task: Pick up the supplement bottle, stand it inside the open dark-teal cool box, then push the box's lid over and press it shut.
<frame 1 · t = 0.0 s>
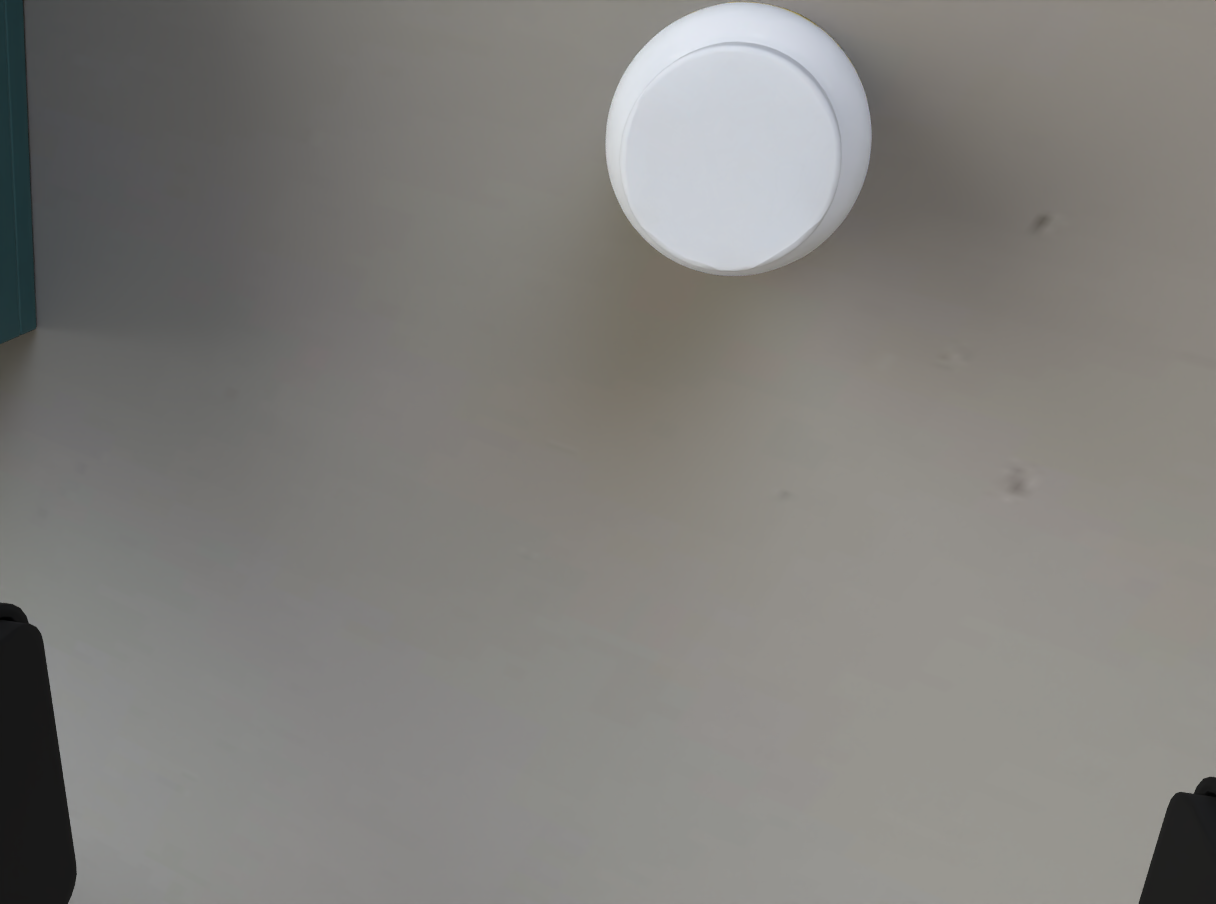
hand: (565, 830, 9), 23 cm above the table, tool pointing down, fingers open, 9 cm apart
supplement bottle: (751, 114, 30), on the table
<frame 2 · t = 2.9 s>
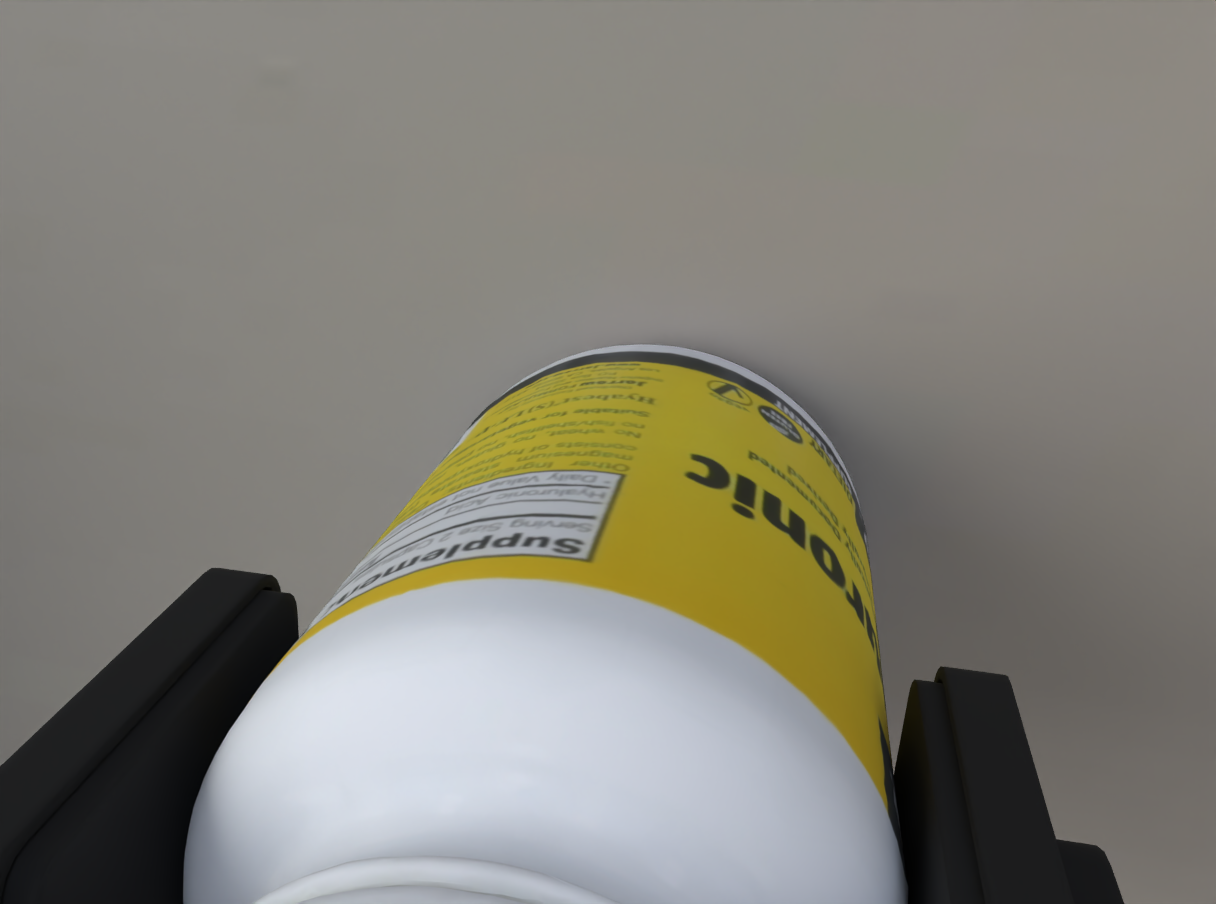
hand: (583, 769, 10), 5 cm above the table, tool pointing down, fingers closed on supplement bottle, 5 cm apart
supplement bottle: (655, 526, 15), on the table, touching gripper
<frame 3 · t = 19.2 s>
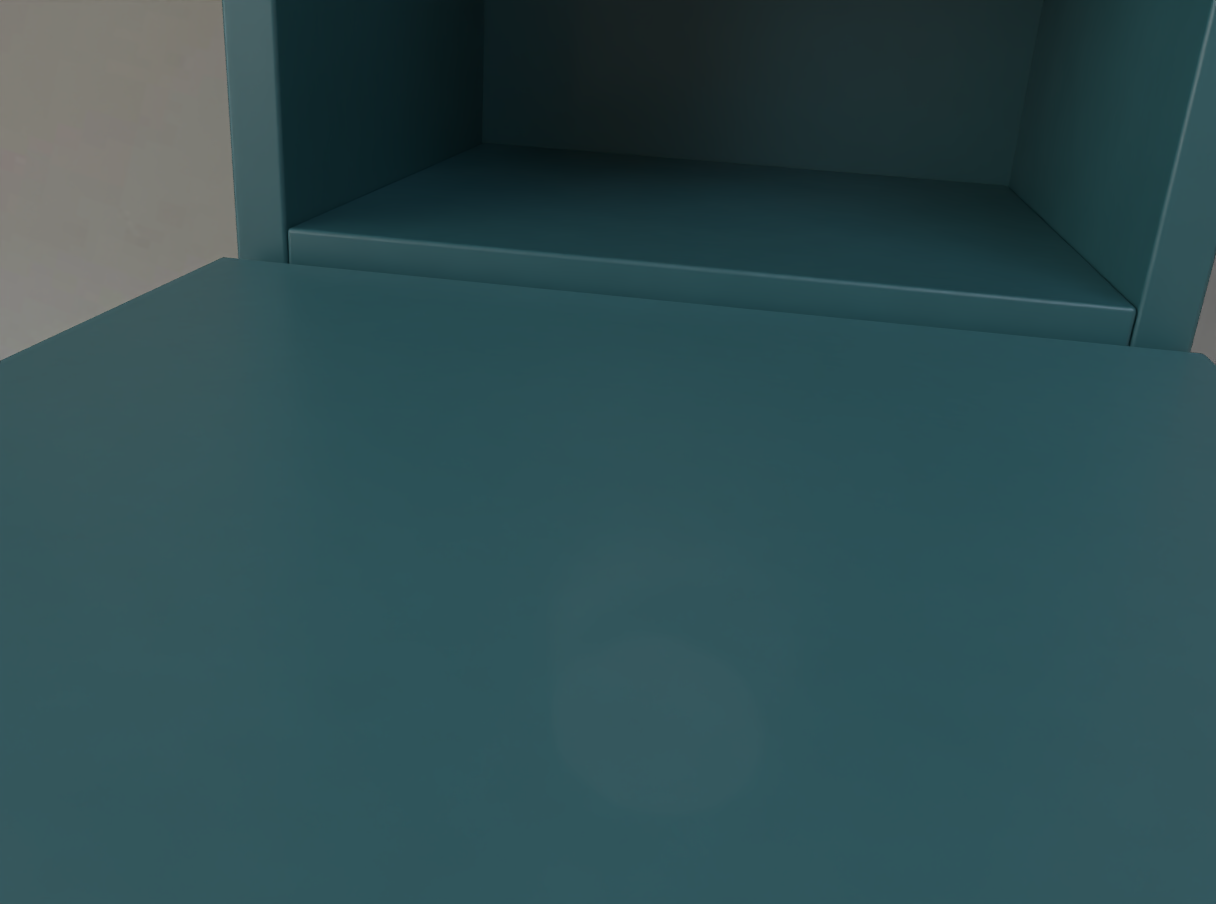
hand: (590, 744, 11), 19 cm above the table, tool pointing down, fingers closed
cool box lid: (567, 640, 8), point 20 cm above the table, hinge at 90.7°, touching gripper
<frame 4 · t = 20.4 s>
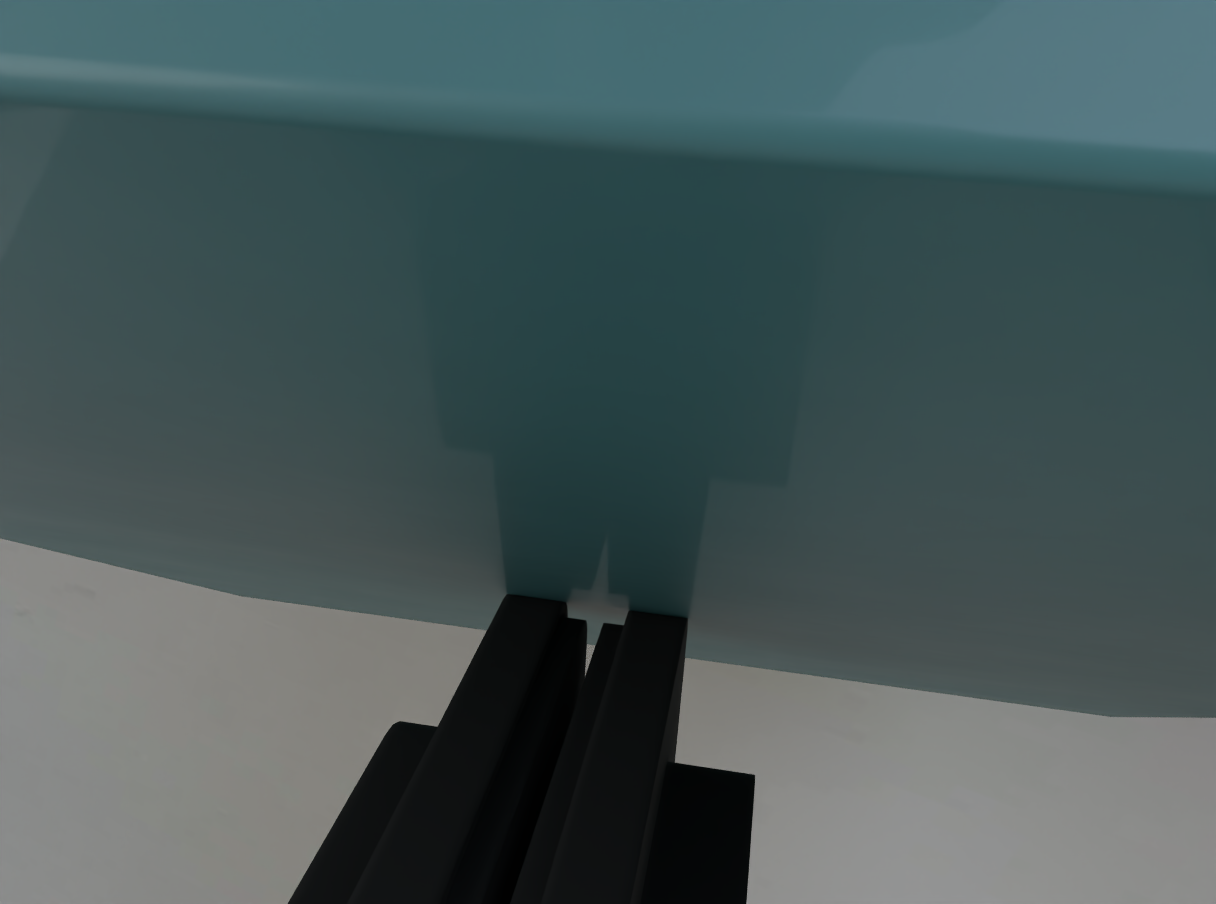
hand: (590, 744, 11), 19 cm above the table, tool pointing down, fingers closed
cool box lid: (600, 557, 10), point 19 cm above the table, hinge at 55.7°, touching gripper
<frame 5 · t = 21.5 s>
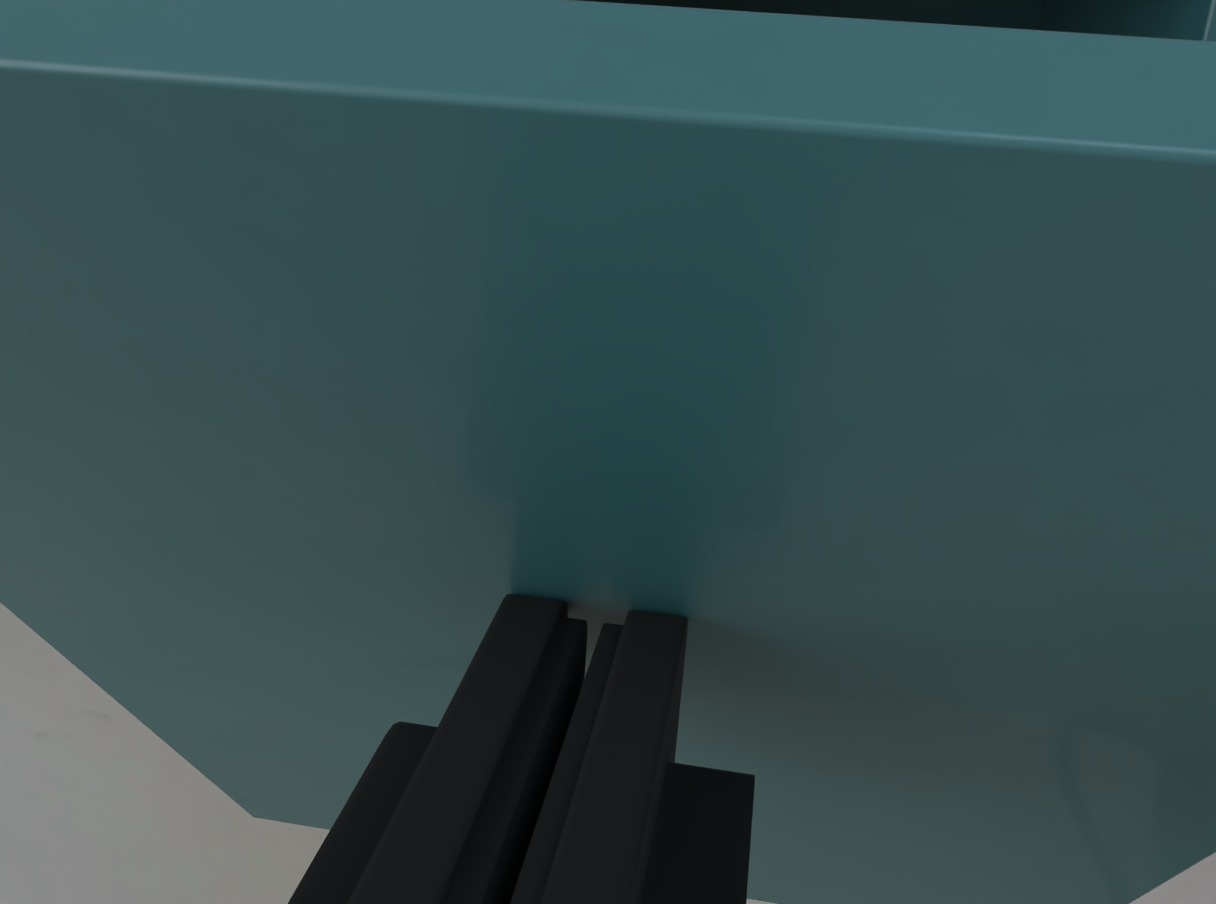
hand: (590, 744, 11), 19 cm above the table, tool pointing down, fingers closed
cool box: (730, 254, 28), on the table
cool box lid: (618, 678, 12), point 17 cm above the table, hinge at 36.2°
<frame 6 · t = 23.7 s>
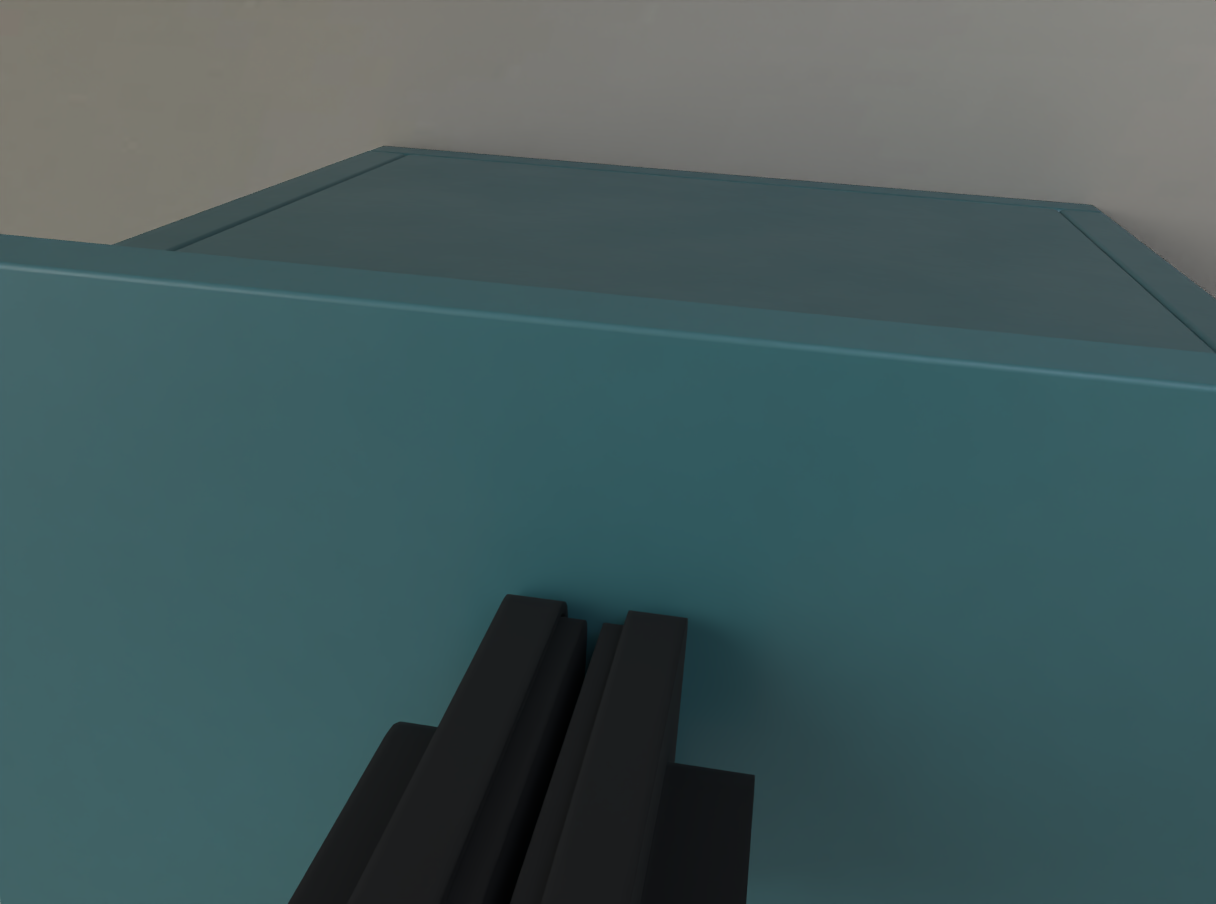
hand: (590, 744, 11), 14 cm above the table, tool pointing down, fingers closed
cool box: (689, 539, 25), on the table
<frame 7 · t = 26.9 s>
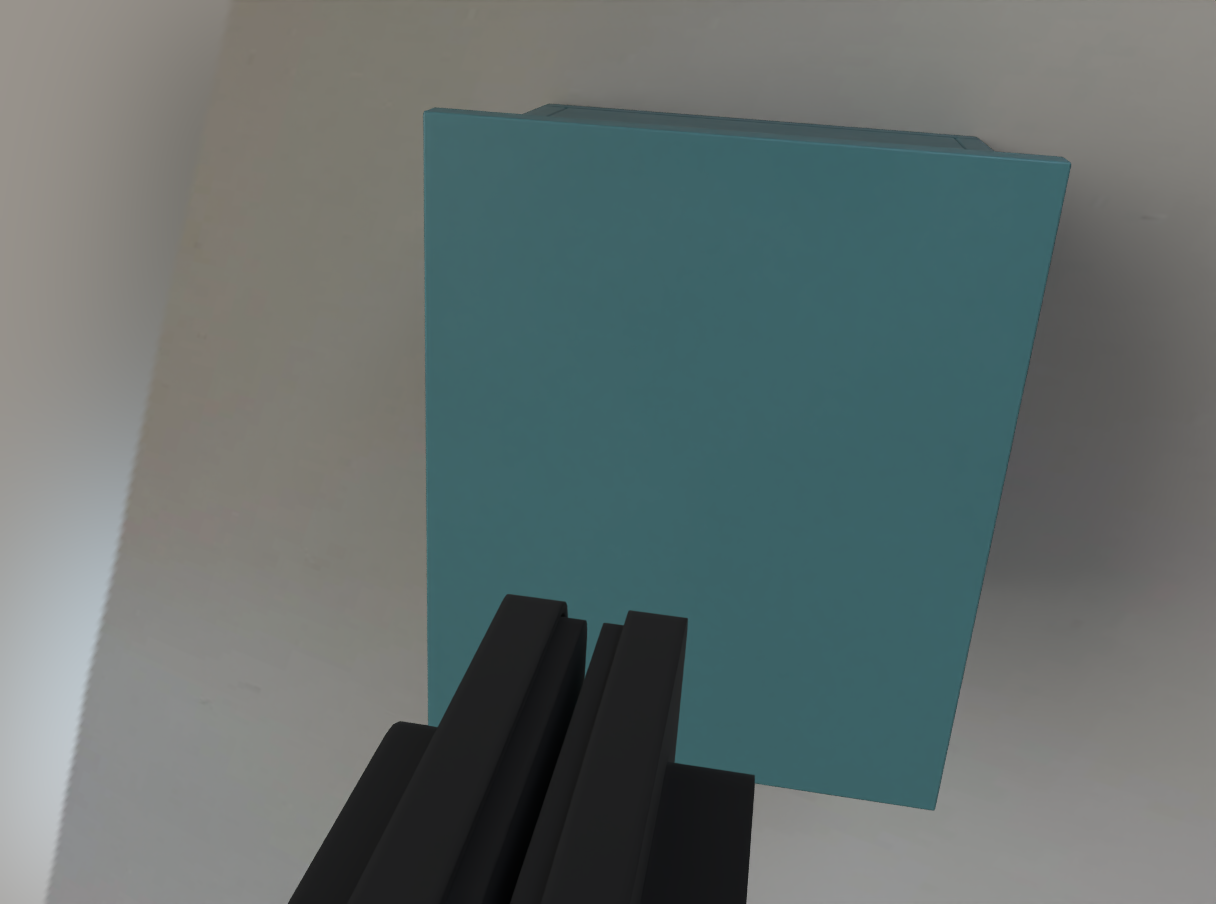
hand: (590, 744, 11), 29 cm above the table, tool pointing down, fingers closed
cool box: (732, 355, 39), on the table
cool box lid: (702, 485, 28), point 12 cm above the table, hinge at 1.1°
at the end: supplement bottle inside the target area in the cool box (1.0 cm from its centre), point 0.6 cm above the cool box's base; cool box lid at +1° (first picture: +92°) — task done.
